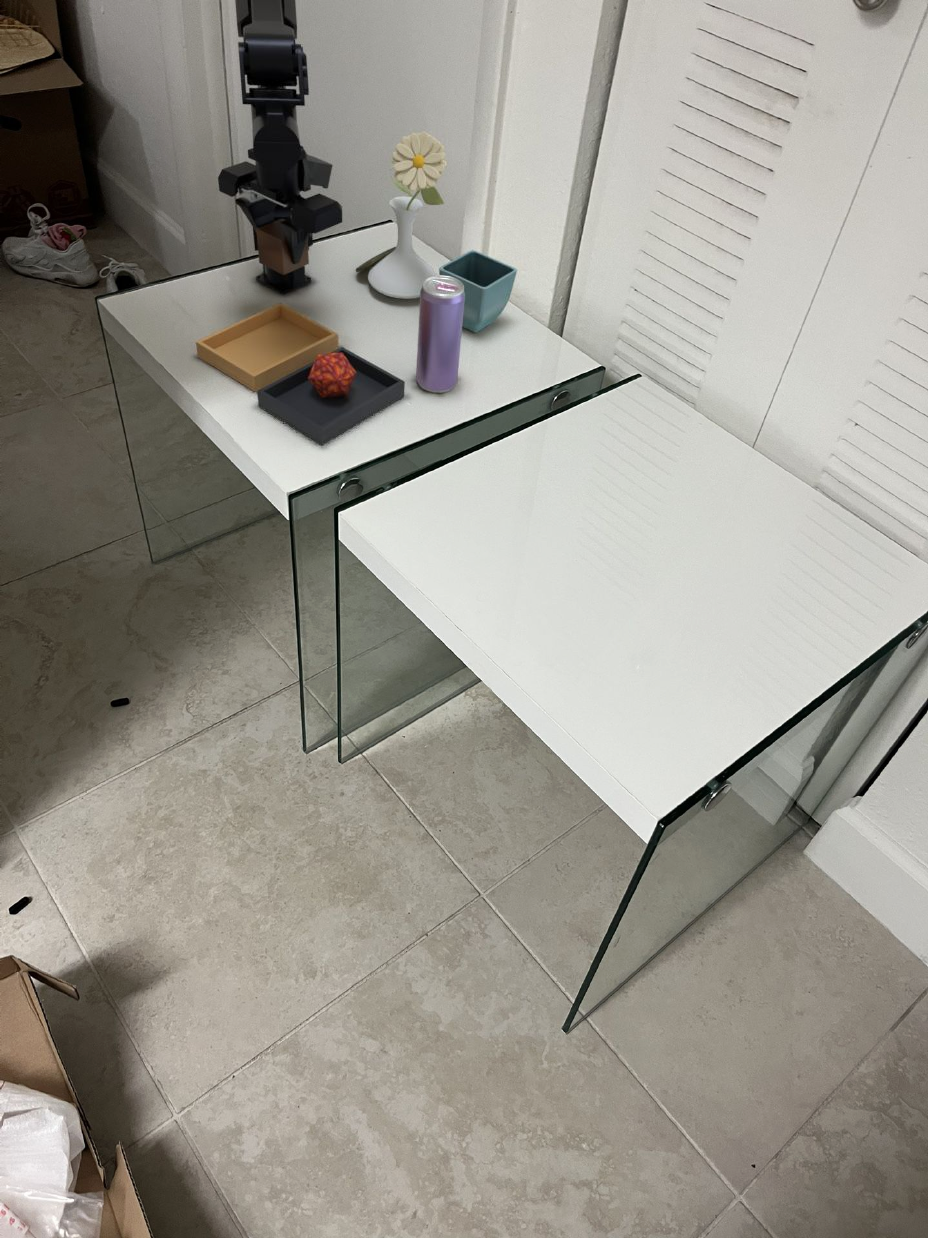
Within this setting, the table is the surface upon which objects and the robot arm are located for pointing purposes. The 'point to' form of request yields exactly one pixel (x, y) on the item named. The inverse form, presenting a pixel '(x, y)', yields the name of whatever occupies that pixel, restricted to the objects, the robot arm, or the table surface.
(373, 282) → the flower in vase
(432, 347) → the beverage can
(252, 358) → the wood tray
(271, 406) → the stone tray
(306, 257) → the walnut block
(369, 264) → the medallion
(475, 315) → the flower pot
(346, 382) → the decorative stone
